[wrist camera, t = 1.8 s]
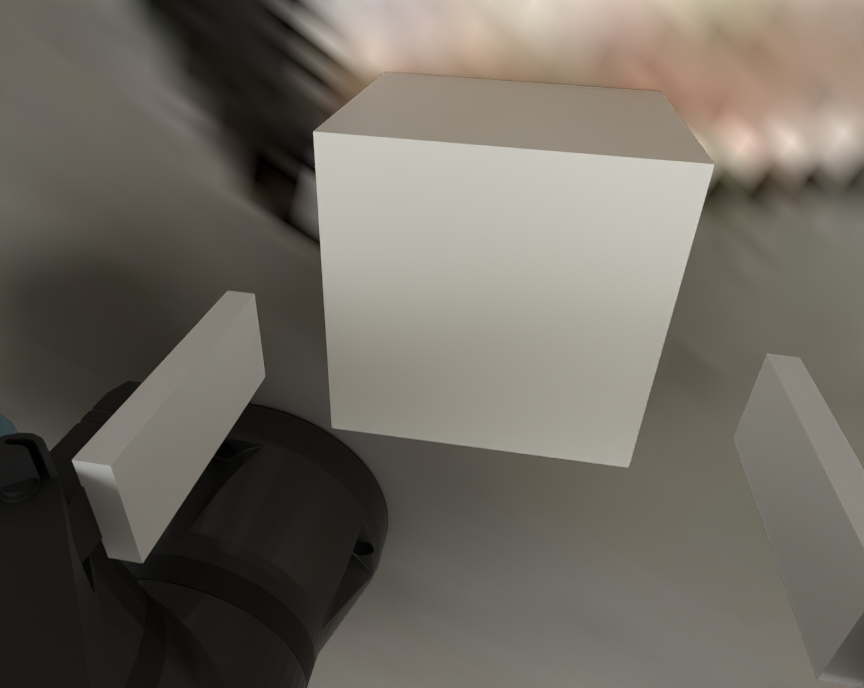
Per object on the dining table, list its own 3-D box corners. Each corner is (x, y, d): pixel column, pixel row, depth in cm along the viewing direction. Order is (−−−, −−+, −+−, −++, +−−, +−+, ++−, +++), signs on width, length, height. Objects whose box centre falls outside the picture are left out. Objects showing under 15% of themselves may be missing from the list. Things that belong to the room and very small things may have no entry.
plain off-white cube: (607, 331, 28) (628, 467, 21) (385, 306, 30) (331, 428, 22) (661, 91, 23) (714, 164, 16) (384, 72, 24) (313, 131, 17)
